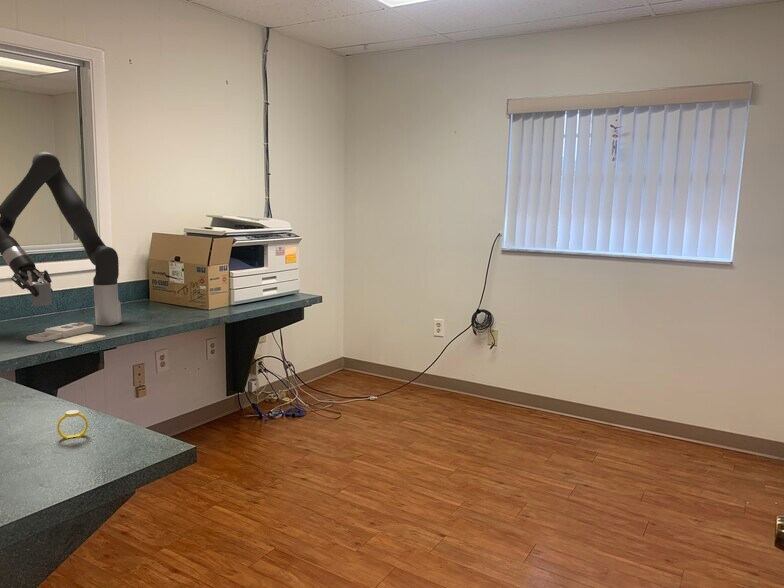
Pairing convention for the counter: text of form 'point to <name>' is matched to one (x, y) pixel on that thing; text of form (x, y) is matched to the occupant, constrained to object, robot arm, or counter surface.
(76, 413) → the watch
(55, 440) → the counter surface
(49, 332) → the power strip
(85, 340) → the rubber mat
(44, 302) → the plug
